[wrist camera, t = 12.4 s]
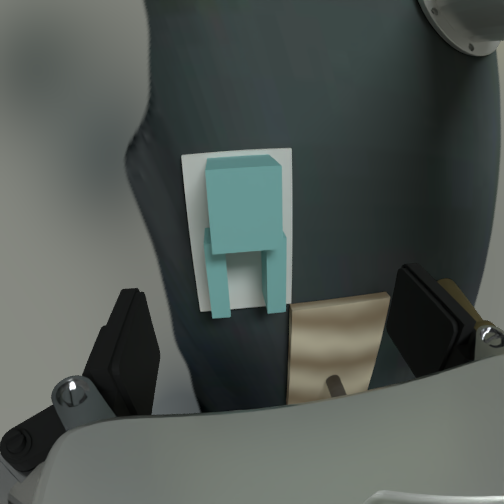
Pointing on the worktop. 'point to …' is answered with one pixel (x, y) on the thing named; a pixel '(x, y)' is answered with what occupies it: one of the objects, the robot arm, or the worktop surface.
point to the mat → (242, 263)
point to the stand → (334, 346)
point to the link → (245, 226)
